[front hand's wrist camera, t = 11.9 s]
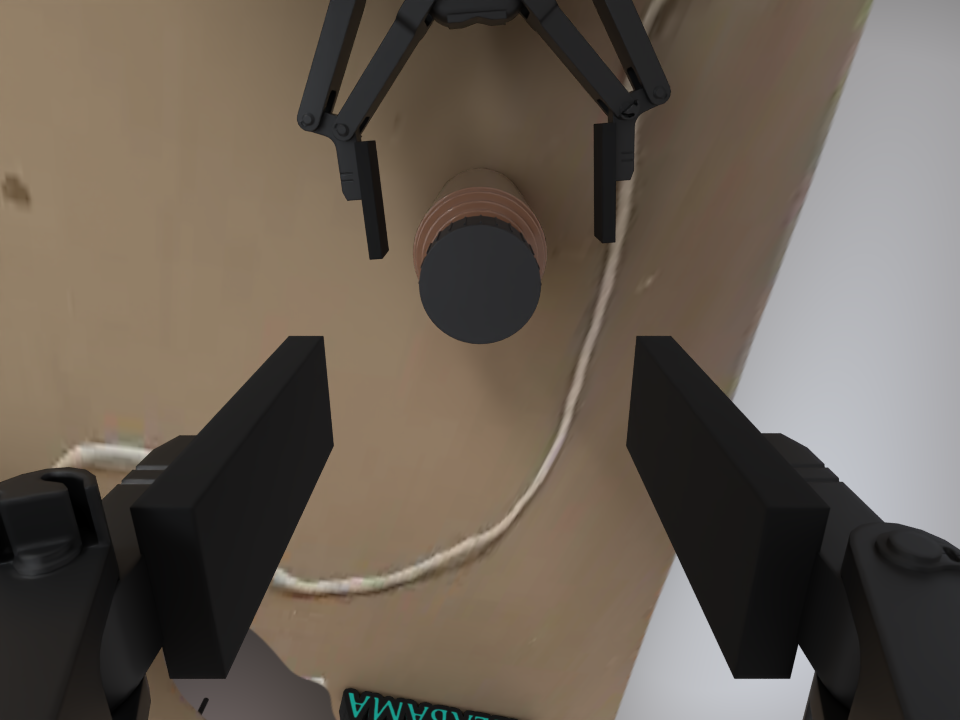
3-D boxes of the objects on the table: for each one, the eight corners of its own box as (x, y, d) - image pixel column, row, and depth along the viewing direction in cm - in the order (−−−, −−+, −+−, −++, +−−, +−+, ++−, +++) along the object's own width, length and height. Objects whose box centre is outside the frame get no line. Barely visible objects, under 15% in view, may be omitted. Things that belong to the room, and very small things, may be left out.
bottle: (506, 153, 41) (528, 172, 22) (538, 241, 43) (583, 327, 24) (420, 189, 42) (370, 238, 23) (455, 273, 44) (436, 382, 25)
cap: (512, 196, 25) (516, 203, 22) (551, 302, 26) (559, 319, 24) (405, 240, 25) (397, 252, 23) (449, 341, 27) (446, 362, 24)
